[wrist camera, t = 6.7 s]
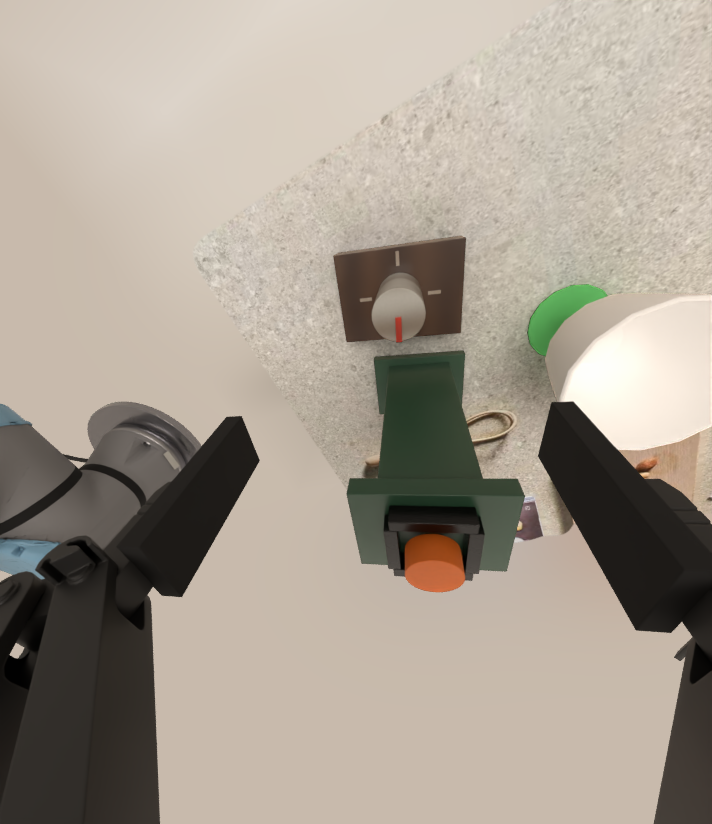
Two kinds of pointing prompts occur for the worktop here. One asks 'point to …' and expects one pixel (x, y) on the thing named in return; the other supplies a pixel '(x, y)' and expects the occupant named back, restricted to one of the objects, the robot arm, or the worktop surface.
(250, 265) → the worktop surface
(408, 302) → the dial
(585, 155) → the worktop surface
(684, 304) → the cup
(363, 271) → the dial panel
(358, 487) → the control post
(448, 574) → the button
